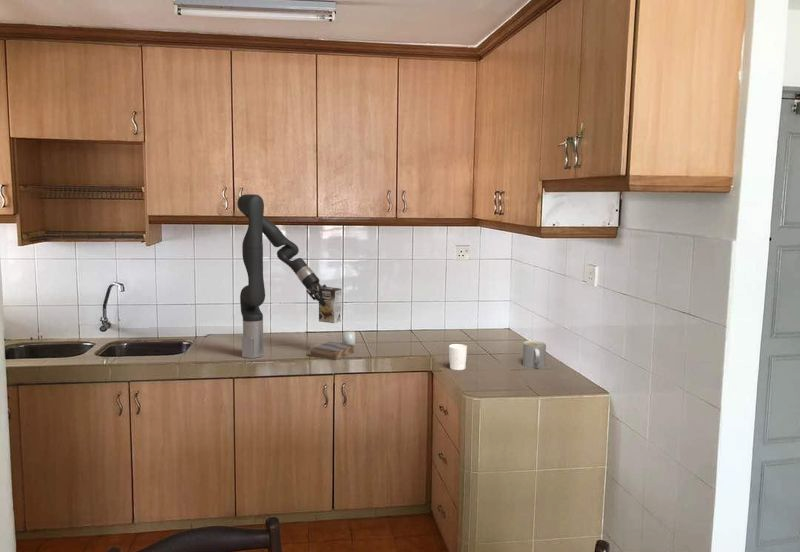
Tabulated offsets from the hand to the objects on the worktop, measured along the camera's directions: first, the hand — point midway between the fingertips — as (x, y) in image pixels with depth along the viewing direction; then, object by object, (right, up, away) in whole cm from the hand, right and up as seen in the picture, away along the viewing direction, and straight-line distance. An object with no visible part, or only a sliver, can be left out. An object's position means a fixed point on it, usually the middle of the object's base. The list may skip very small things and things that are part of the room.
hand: (328, 303), depth 306 cm
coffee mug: (+94, -27, -16) cm, 99 cm away
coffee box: (+1, -9, +1) cm, 9 cm away
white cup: (+59, -28, -21) cm, 69 cm away
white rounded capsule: (+9, -22, +14) cm, 28 cm away
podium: (+2, -24, +1) cm, 24 cm away
